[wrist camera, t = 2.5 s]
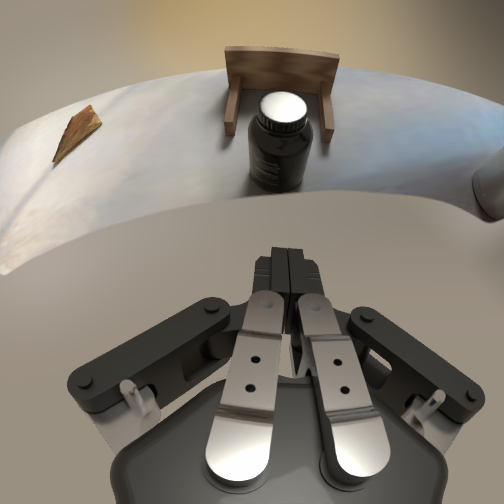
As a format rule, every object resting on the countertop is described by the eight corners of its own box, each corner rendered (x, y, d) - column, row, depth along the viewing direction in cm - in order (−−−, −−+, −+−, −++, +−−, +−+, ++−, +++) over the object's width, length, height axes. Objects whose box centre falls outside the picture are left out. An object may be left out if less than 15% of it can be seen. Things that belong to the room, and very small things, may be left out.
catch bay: (329, 91, 39) (338, 54, 31) (335, 143, 36) (349, 105, 28) (230, 84, 40) (225, 46, 32) (220, 135, 37) (212, 95, 29)
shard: (56, 166, 38) (51, 161, 36) (48, 143, 39) (43, 138, 38) (104, 126, 39) (100, 119, 38) (92, 106, 41) (88, 101, 39)
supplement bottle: (313, 181, 35) (334, 120, 23) (266, 203, 34) (269, 144, 22) (286, 142, 36) (294, 77, 25) (240, 161, 36) (233, 96, 24)
